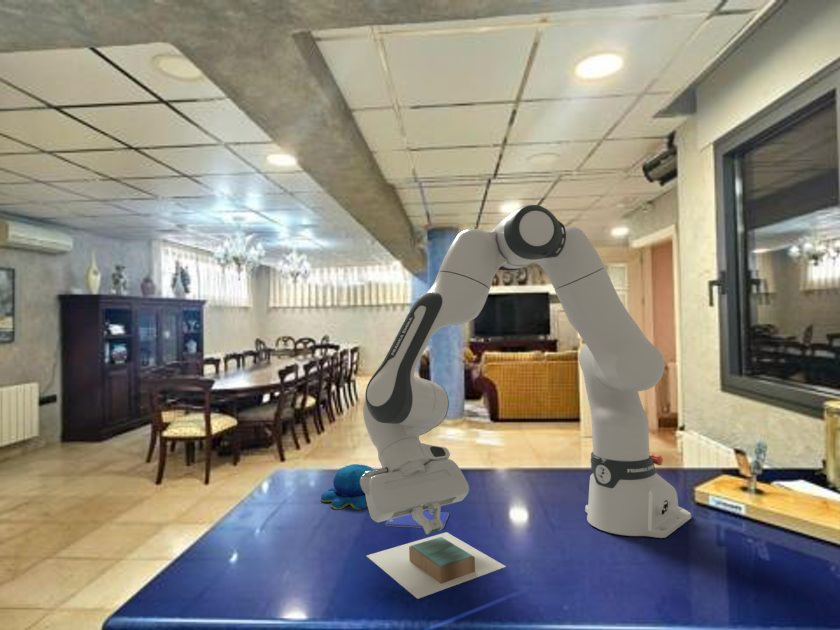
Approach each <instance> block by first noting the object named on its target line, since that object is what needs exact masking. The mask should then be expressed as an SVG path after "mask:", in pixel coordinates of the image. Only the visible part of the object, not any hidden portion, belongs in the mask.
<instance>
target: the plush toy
mask: <svg viewBox="0 0 840 630" xmlns="http://www.w3.org/2000/svg"><path fill="white" fill-rule="evenodd" d="M374 470H375V469H374V468H373V467H371V466H370V465H368V464H367V465H366V464H359V463H352V464H349V465H345V466H343V467H340V468H339V469H338V471H336V473H335V475H334V477H333V480H332V481H333V486H331V487H330V488H328V490H326V491H325V492H323V493H322V494H321V497H320V501H321V502H322V503H330V502H331V503H330V507H331V508H333V509H334V510H341V509H344V508H345V507H347V506H348V505H350V507H352V509H354V510H362V509H361V508H363V509H365V508H366V507H368V506H367V501H366V495H365V493H364V492H363V490H362V488H361V485H360V478H361V476H362V475H364V473H365V472H367V471H374Z"/></svg>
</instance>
